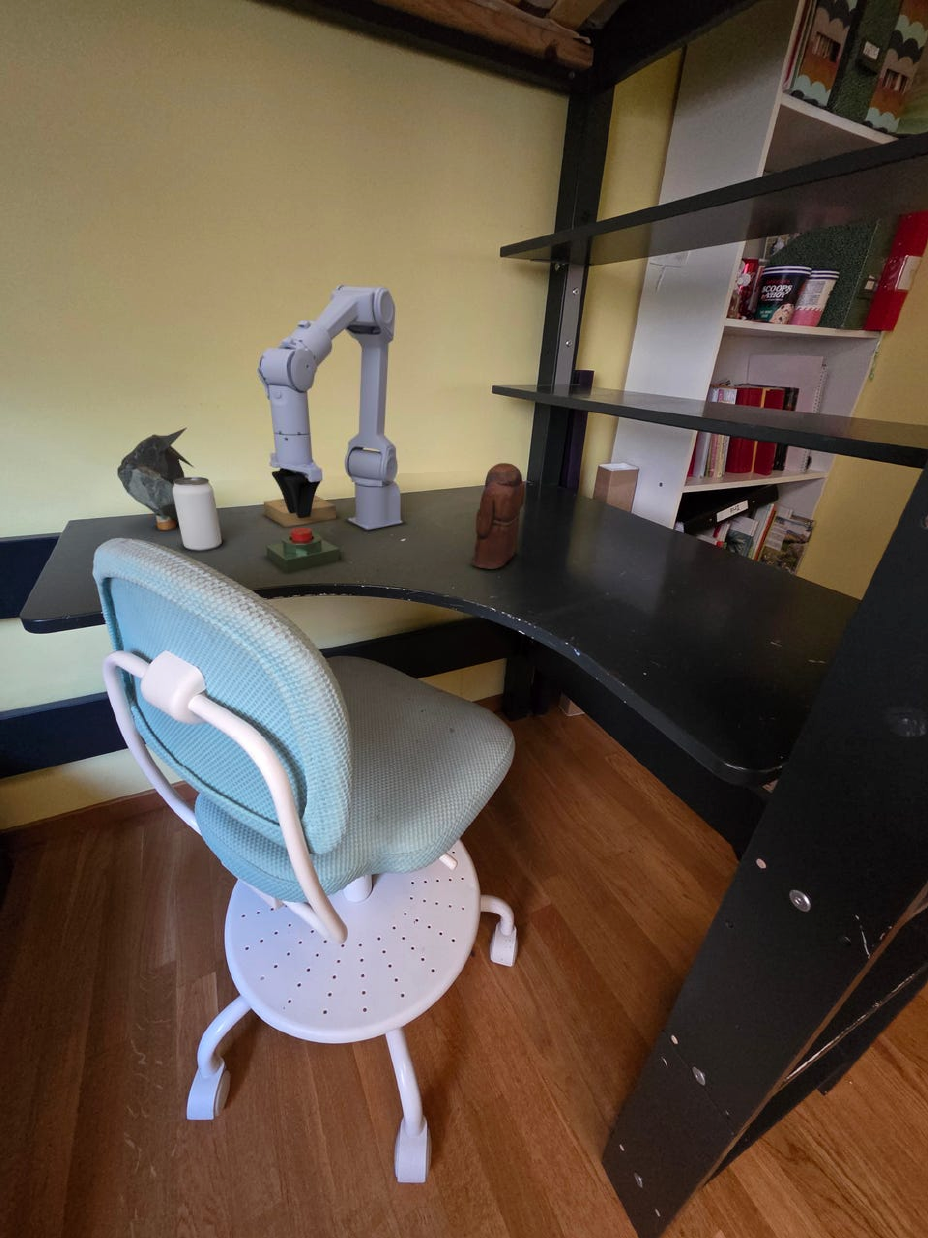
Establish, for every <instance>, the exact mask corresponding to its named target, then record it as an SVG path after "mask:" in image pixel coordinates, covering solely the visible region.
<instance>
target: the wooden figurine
mask: <svg viewBox="0 0 928 1238" xmlns="http://www.w3.org/2000/svg"><path fill="white" fill-rule="evenodd" d="M525 487H526V486H525V484H524V481H523V476H522V473H521V471H520V469H519V468H518V467H517V466H516V465H514V464H513V463H508V462H506V463H505V462H500V463H497V464H495V465H493V466H492V467H490V469H488V472H487V474H486V477H485V481H484V490H483V491H482V494H481V498H480V503H479V508H478V509H477V511H476V517H475V519H476V520H475V532H476V539H475V545H474V549H473V550H474V555H473V559H472V563H473V566H474V567H477V568H481V569H487V570H496V569H500V568H503V566H505V565H506V564H507V563H508V561H510V560H511V559H512V558H513V557H514V556H515V553H516V545H517V542H518V536H519V530H520V529H519V528H520V515H521V509H522V507H523V506H524V503H525V495H526V494H525V491H526V489H525Z"/></svg>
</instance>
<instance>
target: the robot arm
mask: <svg viewBox="0 0 928 1238" xmlns="http://www.w3.org/2000/svg"><path fill="white" fill-rule="evenodd" d="M392 296H393V295H392V294H391V292H390V290H389V289H388V288H387V287H386V286H379V287H377V286H354V285H353V286H352V285H345V284H339V285H337V286H336V287H335V289H334V290H331V292H330V302H329V303H328V304H327V306H326V307H325V308H324V310H323V311H322V312H321V313H320V315H319V316H318V317H317V319H316V320H315V321H314V320H305V319H301V320H300V321H298V322H297V328H296V329H295V330H293V332H292V333H290V335H289V336H288V337H284V338H283V339H282V342H281V343H280V344H279V346H278V347H269V348H267V349H265V351H264V352H263V353H262V354H261V355H260V357H259V360H258V367H257V368H256V369H257V375H258V378H259V380H260V382H261V383H262V385H263V388H264V392H265V397H266V398H267V400H268V401H269V405H270V415H271V425H272V433H273V442H274V452H270V454H269V455H270V461H269V466H270V467H272V468H274V469H278V470H273V471H271V475H272V477H273V479H274V480H275V482H276V483H277V486H278V488H279V490H280V491H281V494H282V497H283V499H284V500H285V503H286V506H287V509H288V511H289V513H296V514H297V517H298V518H306V517H310V516H311V511H312V505H313V499H314V496H316V492H317V490H318V487H319V486H320V484H321V482H323V468H322V467H319V466H318V464H317V463H316V462H315V460H314V458H313V448H312V447H313V446H312V436H311V435H312V434H311V433H312V432H311V422H310V421H311V420H310V408H309V407H310V406H309V395H308V391H309V390H310V389H312V387H313V386H314V382H315V378H316V377H315V376H316V373H318V367H320V365H321V364H322V363H323V362H324V360H325V359H326V358H327V357H328V356H330V354H331V353H332V349H333V342H332V341H333V340H334V339H335V338H336V337H337V336H339V335H340V334H341V333H342V332H343V331H344V330H345V331H346V332H347V334H348V335H349V336H350V337H351V338H352V339H353V340H356V341H357V343H358V344H359V345H360V348H361V356H360V360H361V361H360V382H359V383H360V385H359V386H360V388H359V389H360V390H359V411H358V412H359V414H358V415H359V416H358V433H357V434H356V435H354V436H353V437H352V438H351V439H349V441H348V442H347V451H346V453H345V454H346V455H345V456H344V457H345V458H344V469H345V472H346V474H347V476H348V477H349V478H350V479H351V483H354V502H355V503H354V505H355V506H354V507H355V516H353V517H349V518H347V521H348V522H349V523H352V524H354V525H356V526H358V527H360V528H362V529H364V530H366V531H371V530H376V529H380V528H385V527H392V526H395V525H400V524H403V520H402V519H401V518H402V517H401V514H402V511H401V509H402V504H401V503H402V501H401V499H402V497H401V496H402V495H401V494H402V493H401V490H400V486H399V485H398V484H397V482H396V481H394V480H395V479H396V477H397V474H398V469H399V467H398V460H397V446H396V445H395V444H394V443H392V441H390V439H388V437H387V436H386V435H385V428H386V427H385V424H386V409H387V407H386V406H387V387H388V370H389V369H388V368H389V367H388V366H389V347H390V343H391V342H392V341H394V337H395V323H396V321H395V320H396V305H395V302H394V299H393V297H392ZM364 448H365V449H364Z"/></svg>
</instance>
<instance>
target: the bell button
mask: <svg viewBox="0 0 928 1238" xmlns="http://www.w3.org/2000/svg"><path fill="white" fill-rule="evenodd" d="M289 533H291V541H295V542H306V541H311V540H312V533H313V531H312V529H311V528H309V527H295V528H292V529H290V532H289Z"/></svg>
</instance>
